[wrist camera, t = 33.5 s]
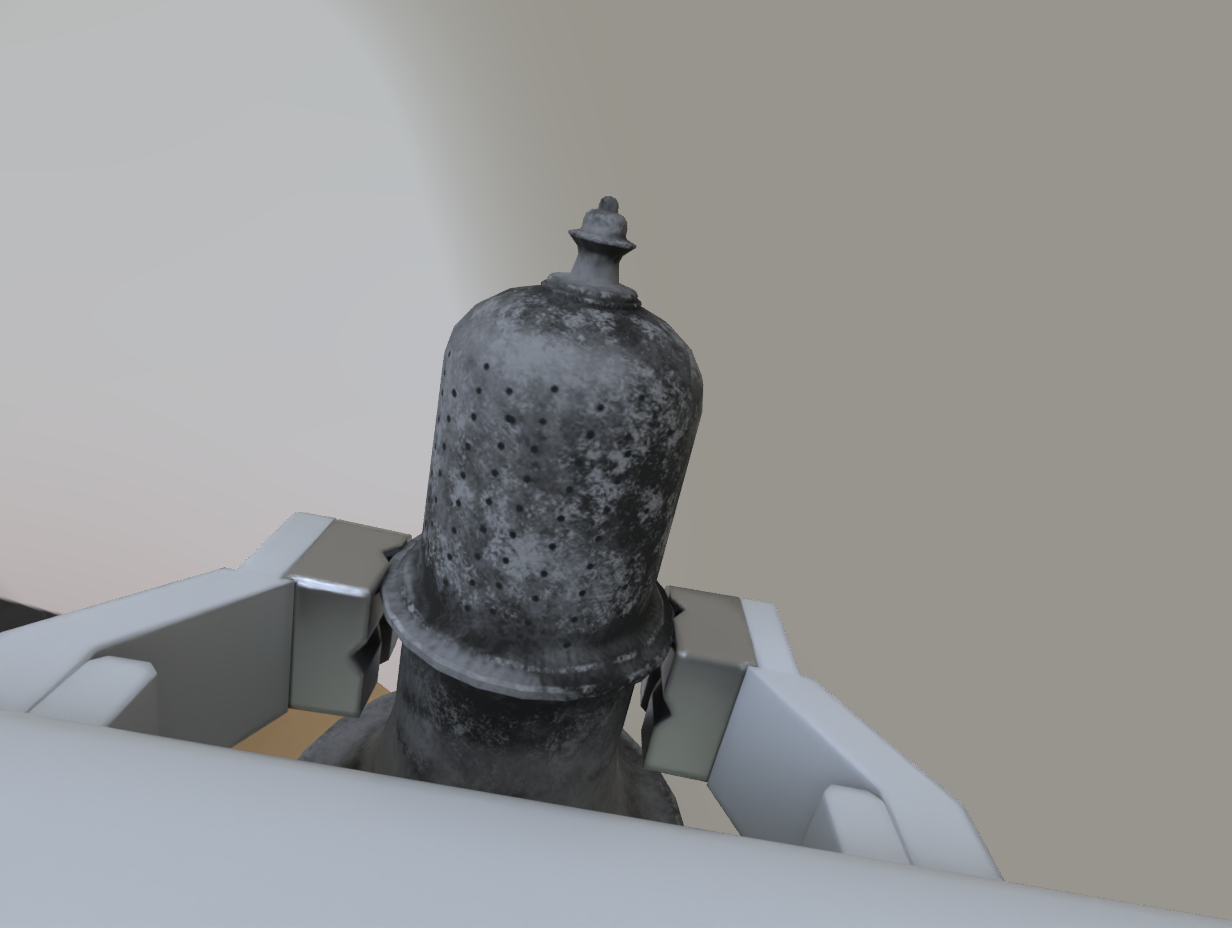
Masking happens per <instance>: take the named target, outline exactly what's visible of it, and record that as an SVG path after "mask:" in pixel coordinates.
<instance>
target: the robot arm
mask: <svg viewBox="0 0 1232 928" xmlns="http://www.w3.org/2000/svg"><path fill="white" fill-rule="evenodd" d="M411 540H412V536H411V535H409V534H404V533H400V532H395V531H391V530H386V529H381V528H376V527H371V526H367V525H363V524H358V523H353V522H348V521H344V520H337V519H335V518H332V517H326V516H320V515H315V514H309V513H302V512H298V513H294V514H293V515H292V516H291V517H290V518H288V519H287V520H286V522H284V524H282V526H280V528H278V529H277V530H276V532H274V533H273V534H272V535H271V536H270V537H269V539H267V540H266V541H265V542H264V543H263V544H262V545H261V546H260V547H259V548H258V549H257V550H256V551H255V552H254V553H253V554H252V555H251V556H250V557H249V558H248V559H247V560H246V561H245V562H244V563H243V564H242V565H241V566H240V567H239V568H238V569H237V570H235V569H230V568H221V569H218V570H214V571H211V572H207V573H204V574H201V575H197V576H194V577H190V578H187V579H183V580H180V581H177V582H173V583H170V584H166V585H163V586H159V587H156V588H152V589H149V590H146V591H142V592H139V593H135V594H132V595H128V596H125V597H121V598H118V599H115V600H111V601H108V602H104V603H101V604H97V605H94V606H90V607H87V608H84V609H80V610H77V611H73V612H70V613H66V614H63V615H60V616H56V617H53V618H49V619H46V620H42V621H39V622H35V623H32V624H29V625H25V626H22V627H18V628H15V629H11V630H8V631H5V632H1V633H0V928H1232V920H1227V919H1221V918H1215V917H1209V916H1204V915H1198V914H1191V913H1187V912H1181V911H1175V910H1169V909H1163V908H1157V907H1152V906H1146V905H1140V904H1134V903H1128V902H1122V901H1116V900H1111V899H1105V898H1099V897H1093V896H1087V895H1081V894H1076V893H1069V892H1063V891H1059V890H1053V889H1047V888H1041V887H1035V886H1029V885H1024V884H1018V883H1011V882H1006V881H1004V879H1003V877H1002V875H1001V873H1000V871H999V869H998V868H997V866H996V864H995V862H994V860H993V858H992V856H991V855H990V853H989V851H988V849H987V847H986V845H985V843H984V841H983V840H982V838H981V836H980V834H979V832H978V830H977V828H976V827H975V825H974V823H973V821H972V819H971V817H970V815H969V814H968V812H967V810H966V808H965V806H964V805H963V804H962V803H960V802H959V801H958V800H957V799H956V798H954V797H953V796H952V795H951V794H950V793H949V792H947V791H946V790H945V789H944V788H943V787H941V786H940V785H939V784H938V783H937V782H935V781H934V780H933V779H932V778H931V777H929V776H928V775H927V774H926V773H925V772H923V771H922V770H921V769H920V768H919V767H917V766H916V765H915V764H914V763H913V762H912V761H910V760H909V759H908V758H907V757H906V756H904V755H903V754H902V753H901V752H899V751H898V750H897V749H896V748H895V747H894V746H892V745H891V744H890V743H889V742H888V741H886V740H885V739H884V738H883V737H882V736H880V735H879V734H878V733H877V732H876V731H875V730H873V729H872V728H871V727H870V726H869V725H867V724H866V723H865V722H864V721H863V720H861V719H860V718H859V717H858V716H857V715H855V714H854V713H853V712H852V711H851V710H850V709H848V708H847V707H846V706H845V705H844V704H842V703H841V702H840V701H839V700H838V699H836V698H835V697H834V696H833V695H832V694H830V693H829V692H828V691H827V690H826V689H824V688H823V687H822V686H821V685H820V684H818V683H817V682H816V681H815V680H814V679H813V678H810V677H804V676H801V674H800V672H799V669H798V666H797V663H796V661H795V658H794V655H793V653H792V649H791V647H790V644H789V641H788V639H787V636H786V633H785V630H784V628H783V625H782V622H781V619H780V616H779V614H778V611H777V608H776V606H775V605H774V604H772V603H771V602H765V601H758V600H751V599H745V598H739V597H734V596H728V595H722V594H716V593H710V592H704V591H699V590H693V589H687V588H681V587H675V586H666V588H665V591H666V593H667V595H668V598H669V601H670V604H671V606H672V608H673V610H674V612H675V618H674V619H673V622H672V627H673V641H672V645H671V647H670V650H669V652H668V654H667V656H666V658H665V660H664V662H663V663H662V664H661V665H660V666H659V667H658V668H656V669H655V670H654V671H653V672H652V673H651V674H649V675H648V676H647V677H646V678H645V679H643V680H642V681H641V707H642V708H643V709H644V710H645V712H646V715H645V718H644V722H643V726H642V729H641V737H642V766H643V769H646V770H651V771H655V772H660V773H665V774H670V775H675V776H680V777H685V778H690V779H694V780H700V781H704V782H708V783H707V786H708V788H709V789H710V791H711V792H712V793H713V795H714V797H715V798H716V800H717V801H718V802H719V804H720V806H721V807H722V808H723V810H724V812H725V813H726V815H727V816H728V817H729V819H730V820H731V822H732V823H733V825H734V826H735V828H736V829H737V831H738V832H739V834H740V835H741V836H738V835H732V834H726V833H720V832H715V831H709V830H703V829H697V828H691V827H685V826H680V825H674V824H668V823H662V822H656V821H651V820H645V819H639V818H633V817H627V816H621V815H616V814H610V813H604V812H598V811H592V810H586V809H581V808H575V807H569V806H563V805H557V804H551V803H546V802H540V801H534V800H528V799H522V798H516V797H511V796H505V795H499V794H493V793H487V792H482V791H476V790H470V789H464V788H458V787H452V786H447V785H441V784H435V783H429V782H423V781H417V780H412V779H406V778H400V777H394V776H388V775H382V774H377V773H371V772H365V771H359V770H353V769H348V768H342V767H336V766H330V765H324V764H318V763H313V762H307V761H301V760H295V759H289V758H284V757H278V756H272V755H266V754H260V753H255V752H249V751H243V750H237V749H231V748H232V747H234V746H235V745H237V744H238V743H240V742H242V741H243V740H245V739H246V738H248V737H249V736H251V735H253V734H254V733H256V732H257V731H259V730H260V729H262V728H263V727H265V726H267V725H268V724H270V723H271V722H273V721H274V720H276V719H278V718H279V717H281V716H282V715H284V714H285V713H287V712H288V708H290V709H296V710H303V711H310V712H317V713H324V714H330V715H337V716H344V717H351V718H357V719H359V717H360V715H361V713H362V711H363V709H364V707H365V705H366V703H367V701H368V699H369V698H370V696H371V694H372V692H373V690H374V688H375V686H376V684H377V679H378V671H379V664H381V663H383V662H385V661H387V660H389V658H390V655H391V653H392V651H393V649H394V647H395V645H396V641H397V639H398V636H397V634H396V633H395V632H394V630H393V629H392V627H391V626H390V625H389V623H388V622H387V621H386V617H385V614H384V610H383V606H382V602H381V598H380V589H381V585H382V583H383V581H384V579H385V577H386V575H387V573H388V571H389V567H390V564H389V561H390V560H391V559H392V557H393V556H394V555H395V554H397V553H398V552H399V551H401V550H402V548H403V546H404V545H405V544H406V543H408V542H409V541H411Z"/></svg>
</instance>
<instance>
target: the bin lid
mask: <svg viewBox="0 0 1232 928" xmlns="http://www.w3.org/2000/svg"><path fill="white" fill-rule="evenodd" d="M388 693H391V692H390V691H388V690H387V689H386V688H384V687H383V686H382V685H381V684H379V683H378V682H377V684H376V686H375V688H374V690H373V692H372V694H371V696H370V698H369V699H368V701H367V703H366V704H368V703H369V702H371V701H373V700H375V699H377V698H378V697H380V696H382V695H385V694H388ZM342 717H344V716H337V715H330V714H324V713H317V712H310V711H303V710H296V709H290V708H288V712H287V713H285V714H284V715H282V716H281V717H279V718H278V719H276V720H274V721H273V722H271V723H270V724H268V725H267V726H265V727H263V728H262V729H260V730H259V731H257V732H256V733H254V734H253V735H251V736H249V737H248V738H246V739H245V740H243V741H242V742H240V743H238V744H237V745H235V746H234V747H232V748H231V749H237V750H243V751H249V752H255V753H260V754H266V755H272V756H278V757H284V758H289V759H295V760H298V758H299V757H300V755H301V754H302V752H303V751H304V750H305V749H306V748H307V747H309V746H310V745H311V744H312V743H313V742H314V741H315V740H316V739H318V738H319V737H320V736H321V735H322V734H323V733H324V732H325V731H327V730H328V729H329V728H330V727H331V726H332V725H333V724H334V723H336V722H337V721H338V720H339V719H341V718H342Z"/></svg>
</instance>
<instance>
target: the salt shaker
mask: <svg viewBox="0 0 1232 928" xmlns="http://www.w3.org/2000/svg"><path fill="white" fill-rule="evenodd" d="M618 208H619V207H618V202H617V200H616V199H615V198H613V197H611V196H606V197H604V198H602V199H601V201H600V204H599V208H598V209H591V210H590V211H589V212H587V213H586V215H585V217H584V219H583V224H582V227H581V228H580V229H575V230H569V234H570V235H571V237H572V238H573V240H574V241H575V243H576V244H577V245H578V256H577V259H576V261H575V263H574V266H573V268H572V271H571V273H562V272H561V273H560V272H557V273H552V274H550V275H549V276H548V278H547V280H544V281H542V282H541V285H534V286H524V287H516V288H510V289H508V290H506V291H503V292H501V293H499V294H497V295H494V296H492V297H490V298H488V299H486V300H483V301H481V302H480V303H478V304H476V305H475V306H474V307H473V308H472V309H471V310H470V311H469V312H468V313H467V314H466V315H465V316H464V317H463V318H462V319H461V320H460V321H459V322H458V323H457V324H456V325H455V326H454V328H453V331H452V334H451V336H450V339H449V342H448V344H447V347H446V350H445V354H444V360H443V368H442V376H441V384H440V393H439V400H438V409H437V417H436V425H435V433H434V441H433V450H432V458H431V466H430V474H429V483H428V490H427V499H426V506H425V515H424V523H423V531H422V534H420V535H418V536H417V537H415V538H414V539H412V540H411V541H409V542H408V543H406V544H405V545H404V546H403V548H402V550H401V551H399V552H398V553H397V554H395V555H394V556H393V557H392V559H391V560H390V561H389V564H390V567H389V571H388V573H387V575H386V577H385V579H384V581H383V583H382V585H381V589H380V598H381V602H382V606H383V610H384V614H385V617H386V621H387V622H388V623H389V625H390V626H391V627H392V629H393V630H394V632H395V633H396V634H397V636H398V637H399V638H400V640H401V641H402V648H401V656H400V665H399V674H398V682H397V691H395V692H392V693H388V694H385V695H382V696H380V697H378V698H377V699H375V700H373V701H371V702H369V703H368V704H366V705H365V707H364V709H363V711H362V713H361V715H360V717H359V719H357V718H351V717H342V718H341V719H339V720H338V721H337V722H336V723H334V724H333V725H332V726H331V727H330V728H329V729H328V730H327V731H325V732H324V733H323V734H322V735H321V736H320V737H319V738H318V739H316V740H315V741H314V742H313V743H312V744H311V745H310V746H309V747H307V748H306V749H305V750H304V751H303V752H302V754H301V755H300V757H299V758H298V760H301V761H307V762H313V763H318V764H324V765H330V766H336V767H342V768H348V769H353V770H359V771H365V772H371V773H377V774H382V775H388V776H394V777H400V778H406V779H412V780H417V781H423V782H429V783H435V784H441V785H447V786H452V787H458V788H464V789H470V790H476V791H482V792H487V793H493V794H499V795H505V796H511V797H516V798H522V799H528V800H534V801H540V802H546V803H551V804H557V805H563V806H569V807H575V808H581V809H586V810H592V811H598V812H604V813H610V814H616V815H621V816H627V817H633V818H639V819H645V820H651V821H656V822H662V823H668V824H674V825H680V826H684V825H683V821H682V818H681V814H680V811H679V808H678V805H677V801H676V798H675V796H674V794H673V793H672V791H671V789H670V788H669V786H668V784H667V783H666V781H665V779H664V778H663V776H662V774H661V773H660V772H655V771H651V770H646V769H643V766H642V748H641V747H640V746H639V745H638V744H637V743H636V742H635V741H634V740H633V739H632V738H631V737H630V736H629V734H628V733H627V732H626V731H625V730H624V729H623V726H624V722H625V718H626V714H627V711H628V707H629V704H630V700H631V696H632V693H633V689H634V686H635V684H636V683H638V682H641V681H642V680H643V679H645V678H646V677H647V676H648V675H649V674H651V673H652V672H653V671H654V670H655V669H656V668H658V667H659V666H660V665H661V664H662V663H663V662H664V660H665V658H666V656H667V654H668V652H669V650H670V647H671V645H672V641H673V627H672V622H673V619H674V618H675V612H674V610H673V608H672V606H671V604H670V601H669V598H668V595H667V593H666V591H665V590H664V589H663V587H662V586H661V585H660V584H659V583H658V581H657V577H658V573H659V569H660V566H661V562H662V558H663V555H664V551H665V547H666V544H667V540H668V536H669V532H670V529H671V525H672V522H673V518H674V514H675V510H676V507H677V503H678V499H679V495H680V492H681V488H682V485H683V481H684V477H685V473H686V470H687V466H688V462H689V459H690V455H691V451H692V448H693V444H694V440H695V436H696V433H697V429H698V425H699V422H700V418H701V414H702V401H703V400H702V399H703V380H702V375H701V373H700V370H699V368H698V365H697V363H696V360H695V358H694V355H693V353H692V350H691V349H690V348H689V347H688V345H687V344H686V343H685V342H684V341H683V340H682V339H681V338H680V337H679V335H678V334H677V333H676V332H675V331H674V330H673V329H672V328H671V326H670V325H669V324H667V323H666V322H665V321H664V320H662V319H661V318H659V317H657V316H656V315H654V314H652V313H651V312H649V311H648V310H646V309H644V308H643V307H641V301H639V300H638V299H637V297H638V295H637V293H636V292H635V291H634V290H633V289H631V288H629V287H626V286H624V285H622V284H619V262H620V260H621V258H622V256H623V255H625V254H627V253H628V252H630V251H632V250H633V249H635V248H636V245H635V244H633V243H631V242H630V241H628V240H627V239H626V233H627V221H626V220H625V218H624V217H623V216H622V215H620V214H618Z"/></svg>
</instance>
